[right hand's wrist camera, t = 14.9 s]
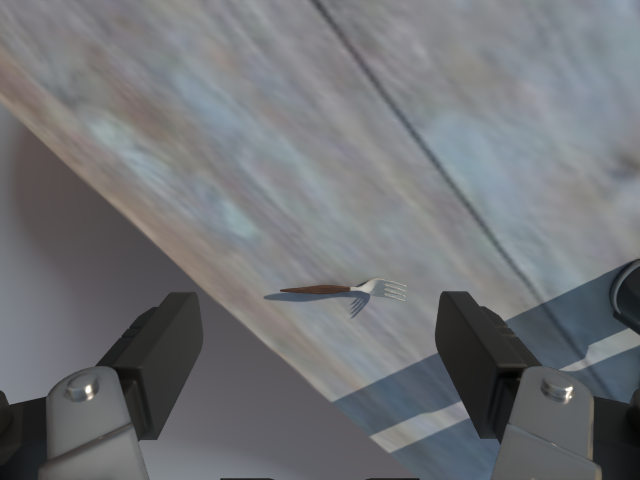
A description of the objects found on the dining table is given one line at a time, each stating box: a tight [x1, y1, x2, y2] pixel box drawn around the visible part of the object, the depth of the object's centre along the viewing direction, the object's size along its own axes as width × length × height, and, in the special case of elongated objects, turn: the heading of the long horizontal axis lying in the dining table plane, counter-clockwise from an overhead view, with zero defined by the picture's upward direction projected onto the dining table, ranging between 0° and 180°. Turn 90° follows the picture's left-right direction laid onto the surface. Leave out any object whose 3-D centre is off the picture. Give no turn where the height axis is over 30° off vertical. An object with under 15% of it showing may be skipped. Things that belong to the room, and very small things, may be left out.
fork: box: [280, 278, 406, 302], centre depth 44 cm, size 3×16×2 cm, turn 91°
